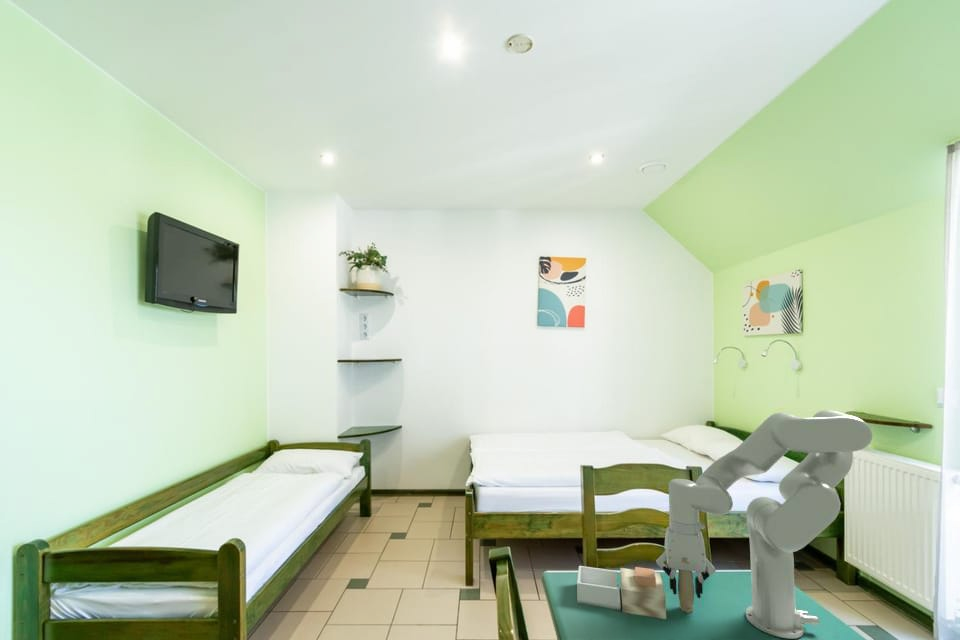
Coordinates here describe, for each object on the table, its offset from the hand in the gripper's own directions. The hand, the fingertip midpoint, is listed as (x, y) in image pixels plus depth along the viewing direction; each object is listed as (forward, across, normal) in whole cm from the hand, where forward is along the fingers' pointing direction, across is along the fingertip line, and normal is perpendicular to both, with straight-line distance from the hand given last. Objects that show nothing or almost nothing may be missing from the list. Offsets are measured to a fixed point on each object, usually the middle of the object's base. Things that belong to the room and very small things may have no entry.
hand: (686, 592), depth 119 cm
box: (+4, +23, 0) cm, 24 cm away
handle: (+5, 0, 0) cm, 5 cm away
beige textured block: (+4, +12, 0) cm, 12 cm away
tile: (-2, +10, 0) cm, 11 cm away
